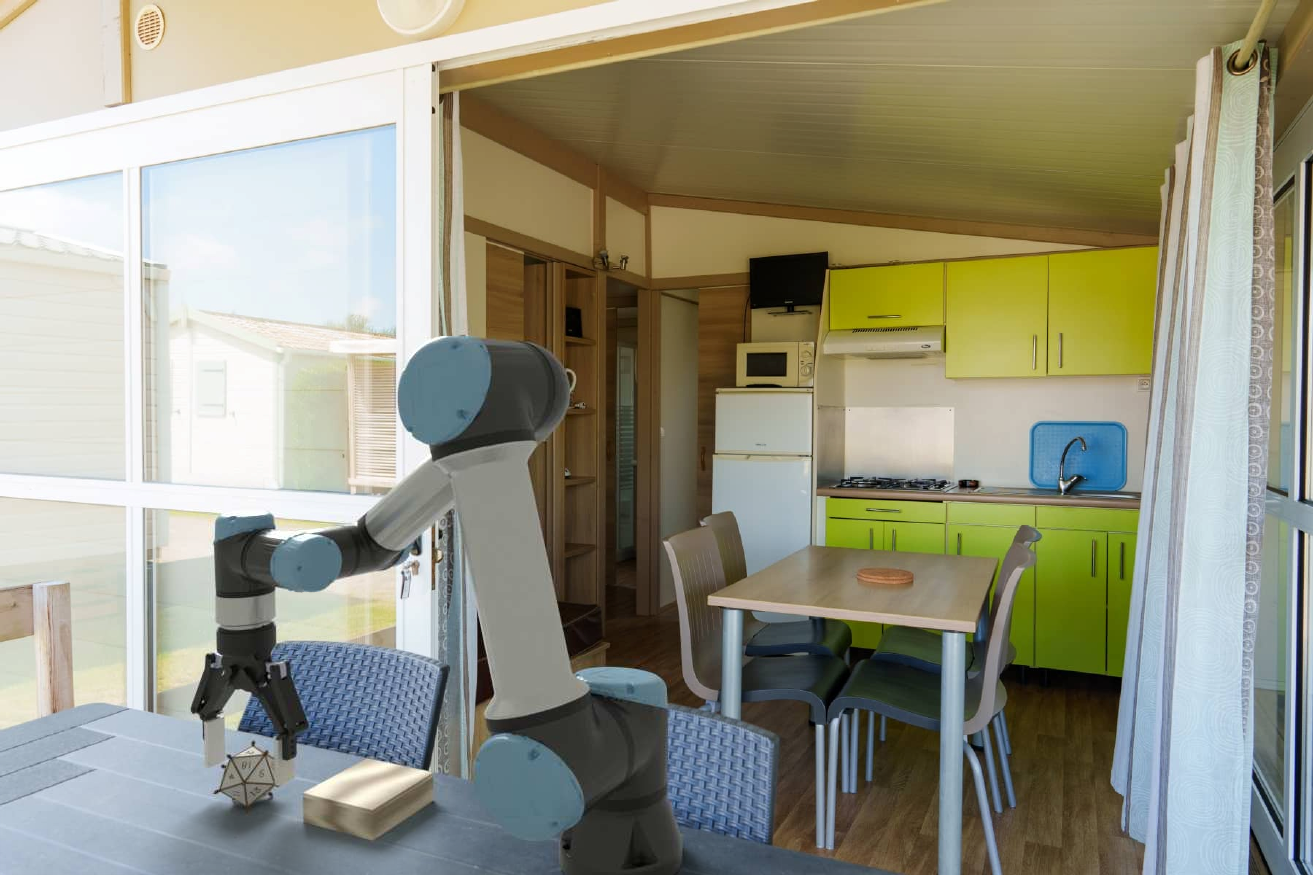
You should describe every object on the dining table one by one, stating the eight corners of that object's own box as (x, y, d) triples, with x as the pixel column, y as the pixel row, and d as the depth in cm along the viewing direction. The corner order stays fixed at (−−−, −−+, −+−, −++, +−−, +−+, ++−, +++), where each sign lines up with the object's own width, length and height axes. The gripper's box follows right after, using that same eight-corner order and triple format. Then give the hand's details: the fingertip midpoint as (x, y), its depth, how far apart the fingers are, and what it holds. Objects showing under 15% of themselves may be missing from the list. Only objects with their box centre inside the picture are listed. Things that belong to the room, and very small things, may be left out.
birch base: (433, 800, 120) (433, 772, 119) (372, 840, 109) (372, 809, 109) (367, 784, 125) (367, 758, 124) (303, 821, 114) (302, 792, 113)
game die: (239, 836, 117) (190, 794, 113) (250, 789, 125) (204, 748, 120) (296, 803, 118) (249, 760, 113) (304, 758, 125) (260, 716, 120)
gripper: (334, 626, 116) (336, 777, 117) (208, 607, 126) (210, 746, 127) (290, 640, 109) (293, 801, 110) (160, 619, 120) (164, 766, 121)
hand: (249, 772), depth 119 cm, fingers open, 13 cm apart
